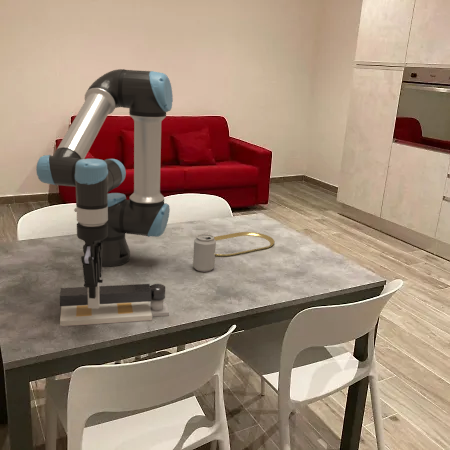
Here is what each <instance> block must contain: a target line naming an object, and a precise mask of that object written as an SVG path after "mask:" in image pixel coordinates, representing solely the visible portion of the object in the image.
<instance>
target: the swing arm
mask: <svg viewBox="0 0 450 450" xmlns="http://www.w3.org/2000/svg"><path fill="white" fill-rule="evenodd" d="M59 290H60V292H59V307H62V306H78V305H88V287H85V286H78V287H77V286H75V287H74V286H73V287H60V289H59ZM99 294H100V304H113V303H131V302H149V303H150V302H151V299H152V300H163V299H165V298H166V286H165V285H164V284H161V283H154V284H150V283H142V284H119V285H116V284H115V285H99Z"/></svg>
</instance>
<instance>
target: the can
mask: <svg viewBox="0 0 450 450" xmlns="http://www.w3.org/2000/svg"><path fill="white" fill-rule="evenodd" d="M214 237H215V236H214V235H212V234H210V233H209V234H208V233H200V234H197V235H196V236H195V239H194V240H193V255H192V256H193V257H192V258H193V259H192V260H193V261H192V267H193V269H195V270H196V271H198V272H203V273H204V272H205V273H206V272H208V273H209V272H211V271H212V270H214V269H215V261H216V260H215V258H216V256H215V254H216V245H217V240H216V241H215V239H214Z"/></svg>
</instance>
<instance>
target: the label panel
mask: <svg viewBox="0 0 450 450" xmlns="http://www.w3.org/2000/svg"><path fill="white" fill-rule="evenodd" d="M164 299H165V298H164ZM164 299H163V300H152V299H151V301H149V302H131V303H113V304H100V306H99V308H98V309H95V308H88V305H78V306H61V309H60V318H59V319H60V320H59V327H70V326H84V325H99V324H101V325H102V324H114V323H116V324H117V323H130V322H144V321H146V322H147V321H153V317H165V316H170V311H169V307H168V304H167V302H165V301H164Z"/></svg>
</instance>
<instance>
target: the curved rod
mask: <svg viewBox="0 0 450 450" xmlns="http://www.w3.org/2000/svg"><path fill="white" fill-rule="evenodd" d="M245 236H249V237H257V238H261V239H264V240H267V241H268V242H269V245H268V246H263V247H257V248H253V249H248V250H244V251H243V250H242V251H239V252H234V253H225V254H224V253H222V254H221V253H215V257H231V256H232V257H233V256H236V255H237V256H238V255H241V254H246V253H251V252H255V251H256V252H257V251H260V250H266V249H269V248H271V247H273V246H274V244H275V239H274V238H273V237H272V236H269V235H266V234H264V233H260V232H253V231H241V232H240V231H239V232H235V233H228V234H222V235H217V236H214V239H215V241H216V242H217V241H220V240H221V241H222V240H227V239H231V238H237V237H245Z"/></svg>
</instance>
